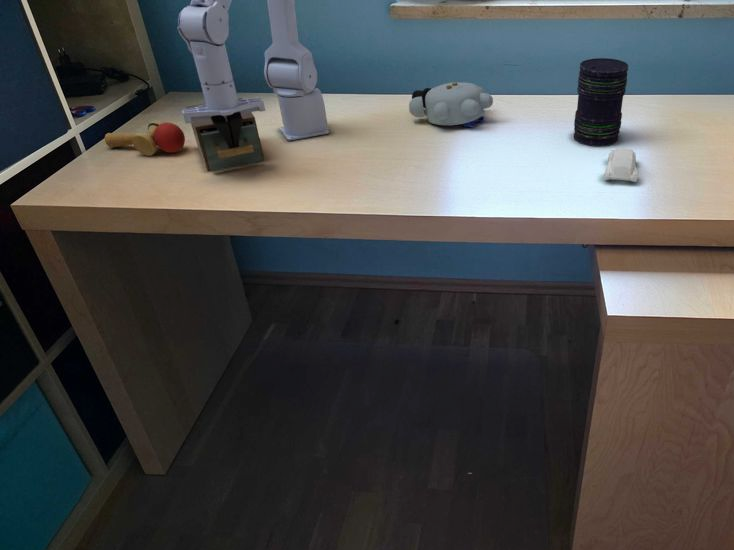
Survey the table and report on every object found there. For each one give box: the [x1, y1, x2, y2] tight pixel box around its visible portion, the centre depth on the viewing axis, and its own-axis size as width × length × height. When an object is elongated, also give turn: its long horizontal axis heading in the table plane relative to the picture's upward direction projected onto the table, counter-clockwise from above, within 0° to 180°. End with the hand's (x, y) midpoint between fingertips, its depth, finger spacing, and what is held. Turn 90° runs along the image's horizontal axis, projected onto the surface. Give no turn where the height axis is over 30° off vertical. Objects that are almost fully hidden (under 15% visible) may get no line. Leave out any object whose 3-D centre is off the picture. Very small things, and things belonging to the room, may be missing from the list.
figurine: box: [408, 81, 494, 128], centre depth 146 cm, size 17×8×20 cm
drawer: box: [200, 122, 264, 172], centre depth 128 cm, size 17×10×7 cm, turn 26°
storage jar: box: [573, 57, 629, 147], centre depth 133 cm, size 10×10×15 cm
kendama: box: [104, 120, 186, 157], centre depth 135 cm, size 8×6×18 cm
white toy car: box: [603, 147, 639, 183], centre depth 122 cm, size 12×6×5 cm, turn 168°
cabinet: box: [185, 97, 265, 172], centre depth 131 cm, size 13×11×9 cm
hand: (235, 153), depth 124 cm, fingers closed, pressing on drawer
